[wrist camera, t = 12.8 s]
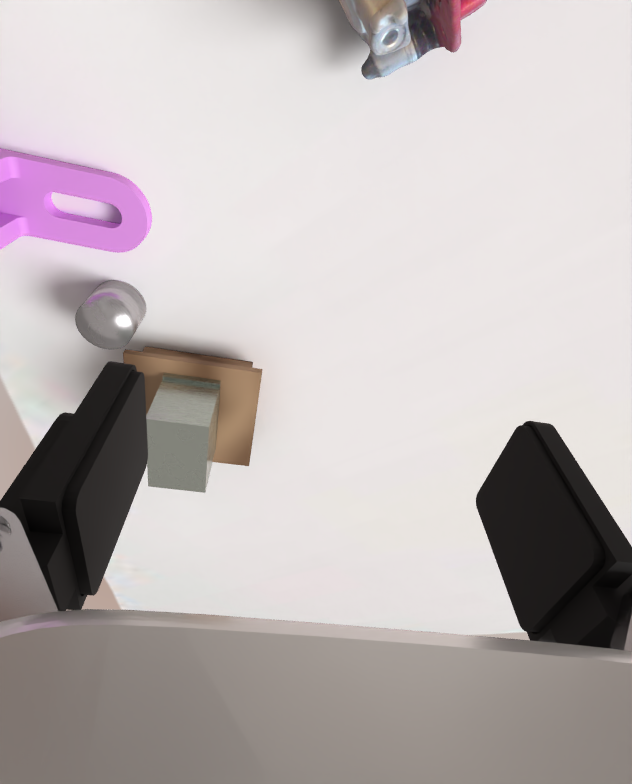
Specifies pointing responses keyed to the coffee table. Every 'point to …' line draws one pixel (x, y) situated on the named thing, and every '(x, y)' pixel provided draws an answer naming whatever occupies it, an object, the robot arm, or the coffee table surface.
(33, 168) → the bracket
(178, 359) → the stand
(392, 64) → the brake caliper
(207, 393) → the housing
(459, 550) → the coffee table surface
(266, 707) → the robot arm
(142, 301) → the knob
